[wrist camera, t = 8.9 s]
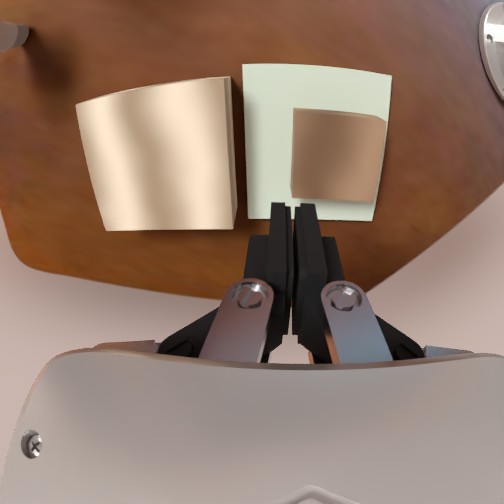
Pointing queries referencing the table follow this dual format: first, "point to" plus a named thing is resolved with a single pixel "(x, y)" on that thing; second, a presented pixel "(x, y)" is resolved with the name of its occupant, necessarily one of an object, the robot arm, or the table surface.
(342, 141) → the walnut block
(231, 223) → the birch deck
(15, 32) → the lightbulb
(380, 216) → the table surface
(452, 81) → the table surface
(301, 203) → the robot arm
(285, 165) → the sage mat
